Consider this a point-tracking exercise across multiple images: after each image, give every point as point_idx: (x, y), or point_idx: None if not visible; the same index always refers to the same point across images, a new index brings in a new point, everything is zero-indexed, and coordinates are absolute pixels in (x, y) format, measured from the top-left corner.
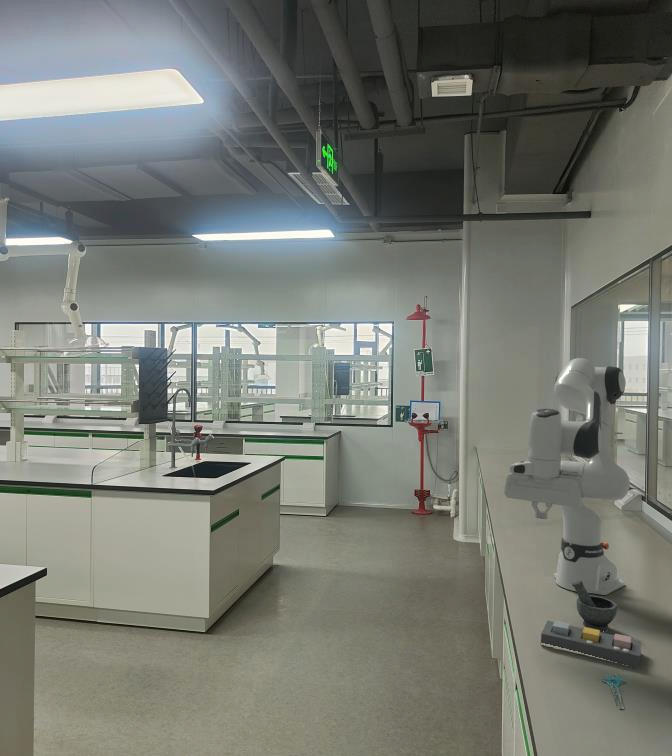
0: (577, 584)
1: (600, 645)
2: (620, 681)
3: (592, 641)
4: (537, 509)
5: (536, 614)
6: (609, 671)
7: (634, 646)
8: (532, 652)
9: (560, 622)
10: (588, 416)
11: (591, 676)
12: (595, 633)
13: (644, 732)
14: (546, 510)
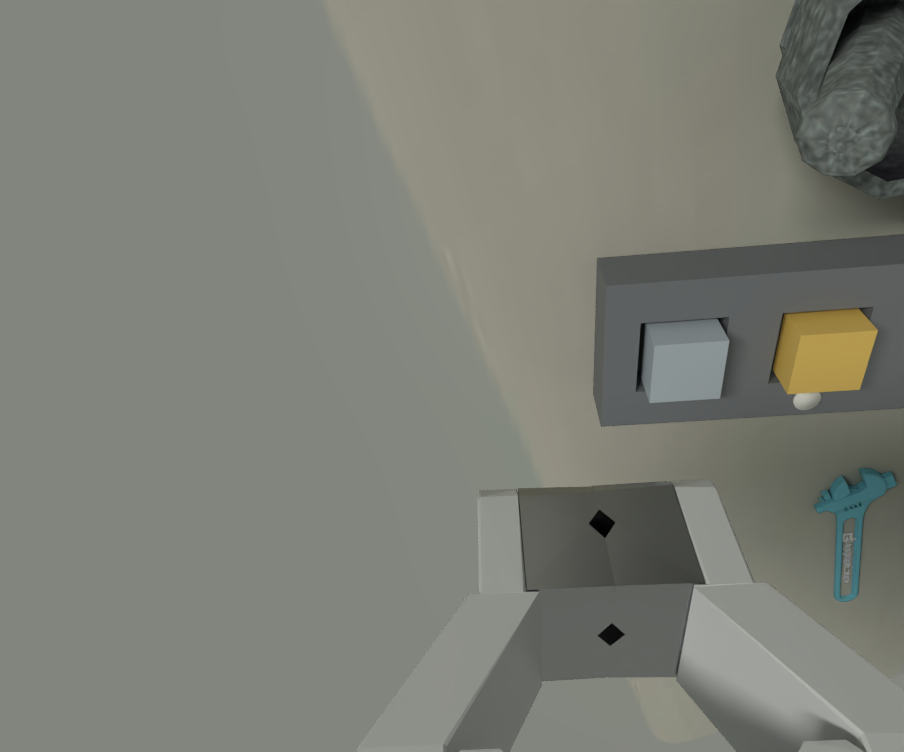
0: (843, 173)
1: (852, 399)
2: (877, 497)
3: None
4: (518, 693)
5: (500, 53)
6: (850, 440)
7: None
8: (574, 455)
9: (682, 352)
10: None
11: (781, 496)
12: (848, 375)
13: (885, 644)
14: (749, 746)
